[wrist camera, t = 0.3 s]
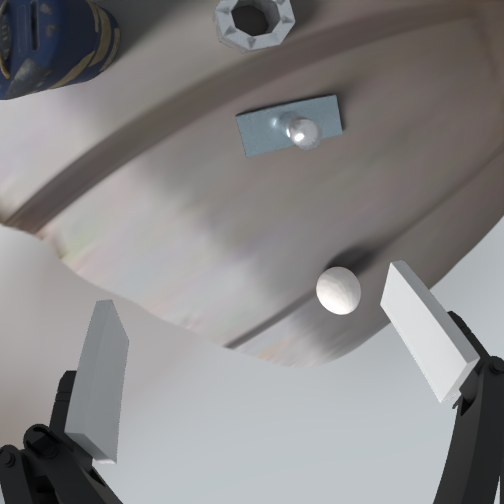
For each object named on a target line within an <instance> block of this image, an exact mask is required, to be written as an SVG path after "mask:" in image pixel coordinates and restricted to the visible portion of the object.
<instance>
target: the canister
mask: <svg viewBox="0 0 504 504" xmlns="http://www.w3.org/2000/svg"><path fill="white" fill-rule="evenodd" d="M119 41H120V32H119V27H118V24H117V22H116V20H115V18H114V17H113V16H112V15H111V14H110V13H109V12H108V11H107V10H105V9H103V8H101V7H100V6H98V5H96V4H94V3H93V2H91V1H89V0H0V100H9V99H14V98H17V97H21V96H25V95H29V94H32V93H37V92H40V91H44V90H48V89H55V88H59V87H64V86H67V85H71V84H78V83H83V82H86V81H89V80H91V79H93V78H95V77H96V76H98V75H99V74H100V73H101V72H103V71H104V70H105V69H106V68H107V67H108V65H109V64H110V63H111V61H112V60H113V58H114V57H115V55H116V52H117V50H118V47H119Z"/></svg>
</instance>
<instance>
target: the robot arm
mask: <svg viewBox="0 0 504 504" xmlns="http://www.w3.org/2000/svg"><path fill="white" fill-rule="evenodd" d="M380 305H381V306H382V308H383V309H384V311H385V313H386V314H387V316H388V317H389V319H390V320H391V322H392V323H393V325H394V326H395V328H396V330H397V331H398V333H399V334H400V336H401V338H402V339H403V341H404V343H405V344H406V346H407V347H408V349H409V351H410V352H411V354H412V356H413V357H414V359H415V361H416V362H417V364H418V366H419V367H420V369H421V371H422V372H423V374H424V376H425V377H426V379H427V381H428V382H429V384H430V386H431V388H432V390H433V391H434V393H435V395H436V397H437V398H438V400H439V402H440V403H442V402H444V401H446V400H448V399H450V398H453V397H454V395H455V394H456V392H457V391H458V390H460V392H461V396H460V397H459V399H458V400H457V401H456V402H455V404H454V405H453V407H452V408H453V409H455V407H456V406H457V405H458V409H457V415H456V420H455V425H454V430H453V435H452V440H451V444H450V448H449V452H448V456H447V460H446V463H445V467H444V471H443V474H442V478H441V481H440V484H439V487H438V490H437V494H436V497H435V500H434V502H433V504H494V500H495V495H496V491H497V486H498V482H499V476H500V504H504V361H503V360H502V359H501V358H499V357H497V356H490V355H489V354H488V353H487V351H486V350H485V349H484V347H483V346H482V344H481V343H480V342H479V341H478V339H477V338H476V337H475V335H474V334H473V333H472V332H471V330H470V329H469V327H467V325H466V324H465V322H464V321H463V320H462V318H461V317H460V316H458V315H457V314H455V313H454V312H453V311H449V312H446V311H445V309H444V308H443V307H442V306H441V305H440V303H439V302H438V301H437V299H436V298H435V297H434V296H433V295H432V293H431V292H430V291H429V290H428V288H427V287H426V286H425V285H424V284H423V282H422V281H421V280H420V279H419V278H418V277H417V275H416V274H415V273H414V272H413V271H412V270H411V268H410V267H409V266H408V265H407V264H406V263H405V262H404V260H402V261H396V262H391V264H390V268H389V272H388V276H387V281H386V285H385V289H384V293H383V296H382V300H381V304H380ZM128 346H129V340H128V337H127V335H126V333H125V330H124V328H123V326H122V323H121V321H120V319H119V316H118V314H117V311H116V309H115V307H114V304H113V302H112V300H102V301H97V302H96V305H95V308H94V312H93V315H92V318H91V321H90V324H89V328H88V331H87V335H86V338H85V342H84V346H83V350H82V353H81V357H80V361H79V366H78V369H77V371H66V372H65V374H64V375H63V377H62V378H61V379H60V382H59V386H58V390H57V394H56V398H55V402H54V406H53V411H52V415H51V420H50V425H49V427H48V426H46V425H44V424H35V425H33V426H31V427H30V428H29V429H28V430H27V431H26V433H25V435H24V439H23V444H24V448H25V449H22V450H18V449H17V448H16V447H15V446H13V445H4V446H3V447H1V448H0V484H1V489H2V493H3V497H4V501H5V504H123V503H122V502H121V501H120V500H119V499H118V497H117V496H116V495H115V494H114V492H113V491H112V490H111V489H110V488H109V486H108V485H107V484H106V483H105V481H104V480H103V479H102V477H101V476H100V475H99V474H98V472H97V471H96V469H95V468H94V467H93V466H92V459H93V458H94V459H95V460H96V461H97V462H98V463H108V464H116V463H117V445H118V431H119V419H120V408H121V399H122V390H123V382H124V374H125V366H126V359H127V352H128Z"/></svg>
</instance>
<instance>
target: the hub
mask: <svg viewBox="0 0 504 504" xmlns="http://www.w3.org/2000/svg"><path fill="white" fill-rule="evenodd" d="M249 5H251V6H253V7H255V8H256V9H258V10H260V11H262V12H264V14H265V17H266V21H267V24H268V28H267V29H266V31H265V32H264V34H263V35H259V36H254V37H252V36H250V35H248V34H246V33H244V32H242V31H241V30H239V29H237V28H235V25H234V21H233V18H232V14H231V12H232V11H233V9H234V8H238V7H243V6H249ZM213 22H214V26H215V29H216V32H217V36H218V39H219V42H221V43H222V44H224V45H226V46H228V47H230V48H232V49H234V50H236V51H238V52H240V53H241V54H243V53H248V52H252V51H257V50H262V49H267V48H270V47H273V46H277V45H280V44H281V42H282V41H283V39H284V38H285V36H286V35H287V33H288V32H289V31H290V29H291V28H292V26H293V25H294V24H295V19H294V15H293V11H292V8H291V4H290V1H289V0H222V1H221V2H220V3H219V5H218V6H217V8H216V9H215V12H214V16H213Z"/></svg>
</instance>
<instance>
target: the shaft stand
mask: <svg viewBox="0 0 504 504" xmlns="http://www.w3.org/2000/svg"><path fill="white" fill-rule="evenodd" d="M235 117H236V121H237V124H238V128H239V132H240V135H241V139H242V143H243V146H244V150H245V154H246V156H247V157H251V156H254V155H258V154H262V153H266V152H269V151H273V150H277V149H281V148H285V147H289V146H293V145H298V146H299V147H300V148H302V149H306V150H310V149H314V148H316V147H317V146H318V145H319V144H320V143H321V141H322V139H323V138H327V137H332V136H337V135H341V134H342V128H341V122H340V116H339V110H338V104H337V98H336V95H333V94H332V95H326V96H321V97H315V98H310V99H305V100H300V101H295V102H290V103H286V104H281V105H277V106H273V107H268V108H264V109H260V110H256V111H252V112H248V113H244V114H240V115H237V116H235Z"/></svg>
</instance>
